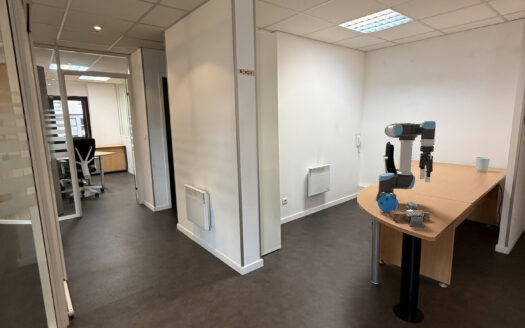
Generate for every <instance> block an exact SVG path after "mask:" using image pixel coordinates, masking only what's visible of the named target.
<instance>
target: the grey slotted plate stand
mask: <svg viewBox="0 0 525 328" xmlns="http://www.w3.org/2000/svg"><path fill="white" fill-rule="evenodd" d="M422 219H423V217H421V216H409V221H405V224H407V225H408V226H409V227H410V228H411V227H412V228H414V227H415V228H426V225H425V224H424V223H423V220H422Z"/></svg>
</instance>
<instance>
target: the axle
mask: <svg viewBox="0 0 525 328" xmlns="http://www.w3.org/2000/svg"><path fill="white" fill-rule="evenodd" d="M424 212H425V211H424V210H421V209H420V210H419V209H418V210H406V211H405V214H406V216H421V217H423V216H424Z"/></svg>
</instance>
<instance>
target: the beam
mask: <svg viewBox="0 0 525 328" xmlns="http://www.w3.org/2000/svg"><path fill="white" fill-rule="evenodd" d="M406 203H407V204H406V206H410V210H419V208H418V207H419V206H418V205H417V203H415V202H414V201H407V202H406ZM389 218H390V219H392V221H397V222H406V221H409V216H406V214H405V209H395V210H390V213H389ZM430 218H431V213H430V212H429V211H424V216H423V219H422V221H430V220H431V219H430Z"/></svg>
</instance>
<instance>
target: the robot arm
mask: <svg viewBox="0 0 525 328" xmlns="http://www.w3.org/2000/svg"><path fill="white" fill-rule="evenodd" d="M436 124H437V123H436V121H435V120H423V121H422V122H421V123H414V122H404V123H403V122H401V123H391V124H389V125H386V127H385V128H384V134H385V135H386V136H387V137H390V138H393V139H394V138H395V139H398V141H399V142H400V151H399V164H398V165H399V167H398V168H399V169H398V171H397V172H396V174H395V173H393V172H384V173H380V174H379V176H378V192H377V194H376V197H375V201H377V202H378V200H379V198H380V197H382V196H380V194H381V193H382V192H386V193H387V194H388V193H389V194H391V193H394V192H395V191H394V190H412V189H413V188H414V186H415V184H416V177H415V175H414V173H413V172H412V162H413V161H412V159H413V157H412V156H413V143H414V142H415V140H416V139H417V138H418V137H419V136H420V141H419V143H420V149H419V151H420V152H421V153H419V155H420V156H419V163H418V168H419V170H420V171H419V180H424V183H431V174H432V172H433V169H434V167H433V166H434V161H433V160H434V156H433V155H432V153H433V152H434V151H435V142H436V141H435V140H436V139H435V137H436V127H437V126H436ZM394 194H395V193H394Z"/></svg>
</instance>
